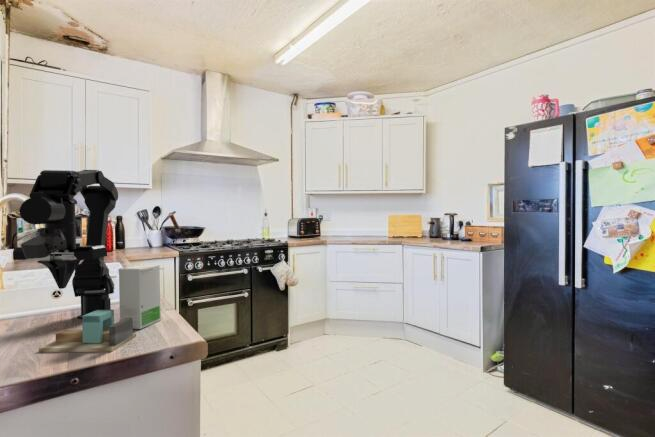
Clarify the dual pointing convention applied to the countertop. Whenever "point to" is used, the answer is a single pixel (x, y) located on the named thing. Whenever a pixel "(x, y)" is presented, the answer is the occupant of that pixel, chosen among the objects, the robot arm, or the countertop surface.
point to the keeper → (96, 325)
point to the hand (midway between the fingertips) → (62, 288)
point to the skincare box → (140, 294)
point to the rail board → (74, 343)
